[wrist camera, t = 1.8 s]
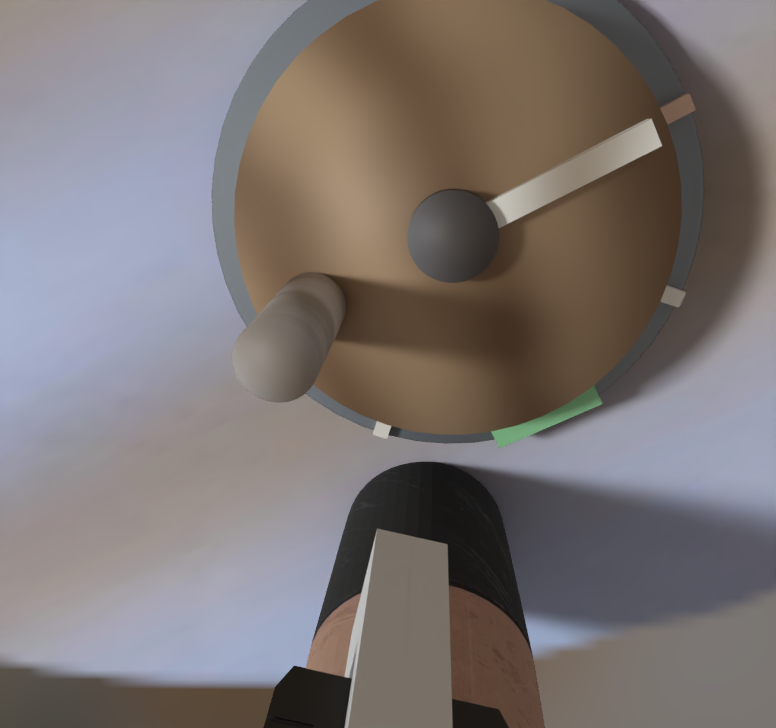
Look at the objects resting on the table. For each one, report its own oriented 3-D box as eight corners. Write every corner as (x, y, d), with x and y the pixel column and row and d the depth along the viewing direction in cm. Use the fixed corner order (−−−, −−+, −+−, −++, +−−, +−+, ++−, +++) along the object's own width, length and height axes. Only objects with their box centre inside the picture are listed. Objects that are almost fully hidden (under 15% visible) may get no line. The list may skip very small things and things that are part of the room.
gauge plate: (231, -79, 23) (216, -93, 22) (755, -12, 23) (779, -21, 22) (213, 399, 30) (200, 415, 28) (626, 458, 29) (637, 478, 28)
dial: (368, 468, 29) (344, 593, 21) (171, 134, 25) (54, 142, 17) (722, 312, 25) (841, 394, 18) (562, -102, 21) (629, -220, 14)
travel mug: (509, 452, 30) (633, 1033, 11) (509, 598, 32) (610, 1272, 13) (334, 456, 30) (167, 1011, 11) (348, 599, 33) (229, 1243, 14)
